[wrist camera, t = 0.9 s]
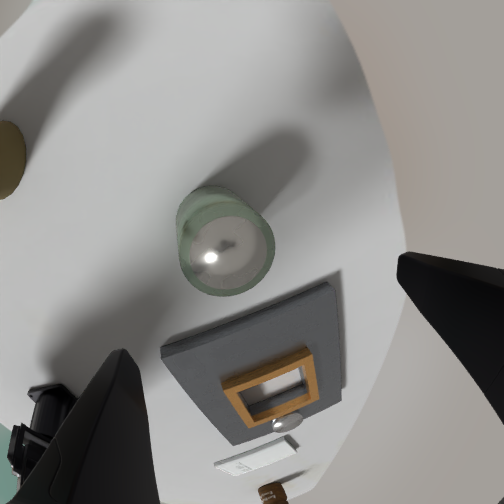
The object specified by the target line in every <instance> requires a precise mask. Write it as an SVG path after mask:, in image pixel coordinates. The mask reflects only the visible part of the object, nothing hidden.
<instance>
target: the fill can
mask: <svg viewBox="0 0 504 504" xmlns="http://www.w3.org/2000/svg"><path fill="white" fill-rule="evenodd" d="M176 231H177V241H178V251H179V260H180V265H181V268H182V271H183V273H184V275H185V277H186V278H187V280H188V281H189V282H190V283H191V284H192V285H193V286H194V287H195V288H197V289H198V290H200V291H202V292H204V293H206V294H209V295H213V296H233V295H237V294H240V293H243V292H245V291H247V290H249V289H251V288H252V287H254V286H255V285H256V284H258V283H259V282H260V281H261V280H262V279H263V278H264V276H265V275H266V274H267V272H268V271H269V269H270V267H271V265H272V262H273V259H274V255H275V240H274V235H273V232H272V230H271V228H270V226H269V225H268V223H267V222H266V221H265V220H264V219H263V217H261V216H260V215H259V214H258V213H257V212H255V211H254V210H253V209H252V208H251V207H250V206H248V205H247V204H246V203H245V202H244V201H242V200H241V199H240V198H239V197H238V196H236V195H235V194H234V193H233V192H231V191H230V190H228V189H225V188H223V187H219V186H206V187H202V188H199V189H196V190H195V191H193V192H191V193H190V194H189V195H188V196H187V197H186V198H185V199H184V200H183V201H182V203H181V204H180V206H179V208H178V211H177V215H176Z"/></svg>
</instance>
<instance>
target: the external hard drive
mask: <svg viewBox="0 0 504 504" xmlns="http://www.w3.org/2000/svg"><path fill="white" fill-rule="evenodd" d="M295 453H297V451H296V449H295V448H294V447H293V446H292V445H291V444H290V443H289V442H288V441H287V440H286V439H285V438H284V437H281V438H279V439H276V440H274V441H272V442H269V443H267V444H265V445H262V446H260V447H257V448H255V449H252V450H250V451H247V452H244V453H242V454H239V455H236V456H233V457H231V458H228V459H225V460H222V461H219V462H215V463H214V466H215V468H217V469H219V470H221V471H224V472H226V473H228V474H230V475H232V476H238V475H241V474H244V473H247V472H250V471H253V470H255V469H258V468H261V467H264V466H266V465H269V464H272V463H274V462H277V461H279V460H281V459H284V458H286V457H288V456H291V455H293V454H295Z"/></svg>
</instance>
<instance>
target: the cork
mask: <svg viewBox="0 0 504 504" xmlns="http://www.w3.org/2000/svg"><path fill="white" fill-rule="evenodd" d="M25 163H26V146H25V142H24V138H23V135H22V133H21V132H20V130H19V128H18V127H17V126H16V125H14V124H13V123H12V122H9V121H0V200H1V199H5V198H6V197H8V196H9V195H11V194H12V193H13V192H14V190H15V189H16V188H17V186H18V185H19V183H20V180H21V178H22V176H23V173H24V168H25Z"/></svg>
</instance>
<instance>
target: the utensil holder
mask: <svg viewBox="0 0 504 504" xmlns="http://www.w3.org/2000/svg"><path fill="white" fill-rule="evenodd" d="M258 492H259V495H260V498H261V500H262V502H263V504H288V501H286V500H287V496H286V493H285V491H284V489H283V487H282V485H281V483H271V484H268V485H265V486H262V487H260V488H259V489H258Z"/></svg>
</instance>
